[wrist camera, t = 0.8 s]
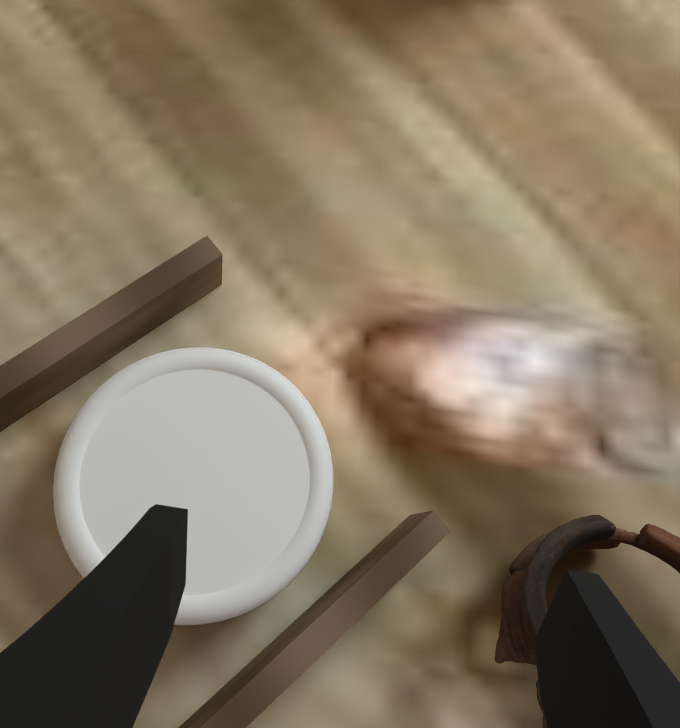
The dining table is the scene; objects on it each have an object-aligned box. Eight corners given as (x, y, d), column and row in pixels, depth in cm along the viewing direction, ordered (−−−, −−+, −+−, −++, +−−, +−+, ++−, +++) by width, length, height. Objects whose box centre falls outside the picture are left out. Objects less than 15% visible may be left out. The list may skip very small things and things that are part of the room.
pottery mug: (483, 804, 25) (517, 746, 19) (469, 576, 31) (491, 480, 26) (808, 834, 24) (951, 784, 18) (723, 591, 30) (808, 497, 24)
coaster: (72, 372, 26) (52, 346, 23) (311, 363, 28) (324, 338, 25) (67, 632, 24) (43, 645, 20) (331, 601, 26) (349, 608, 22)
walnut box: (-14, 947, 20) (-50, 1010, 18) (-265, 574, 22) (-336, 577, 19) (425, 533, 27) (450, 531, 24) (207, 267, 28) (207, 235, 25)
